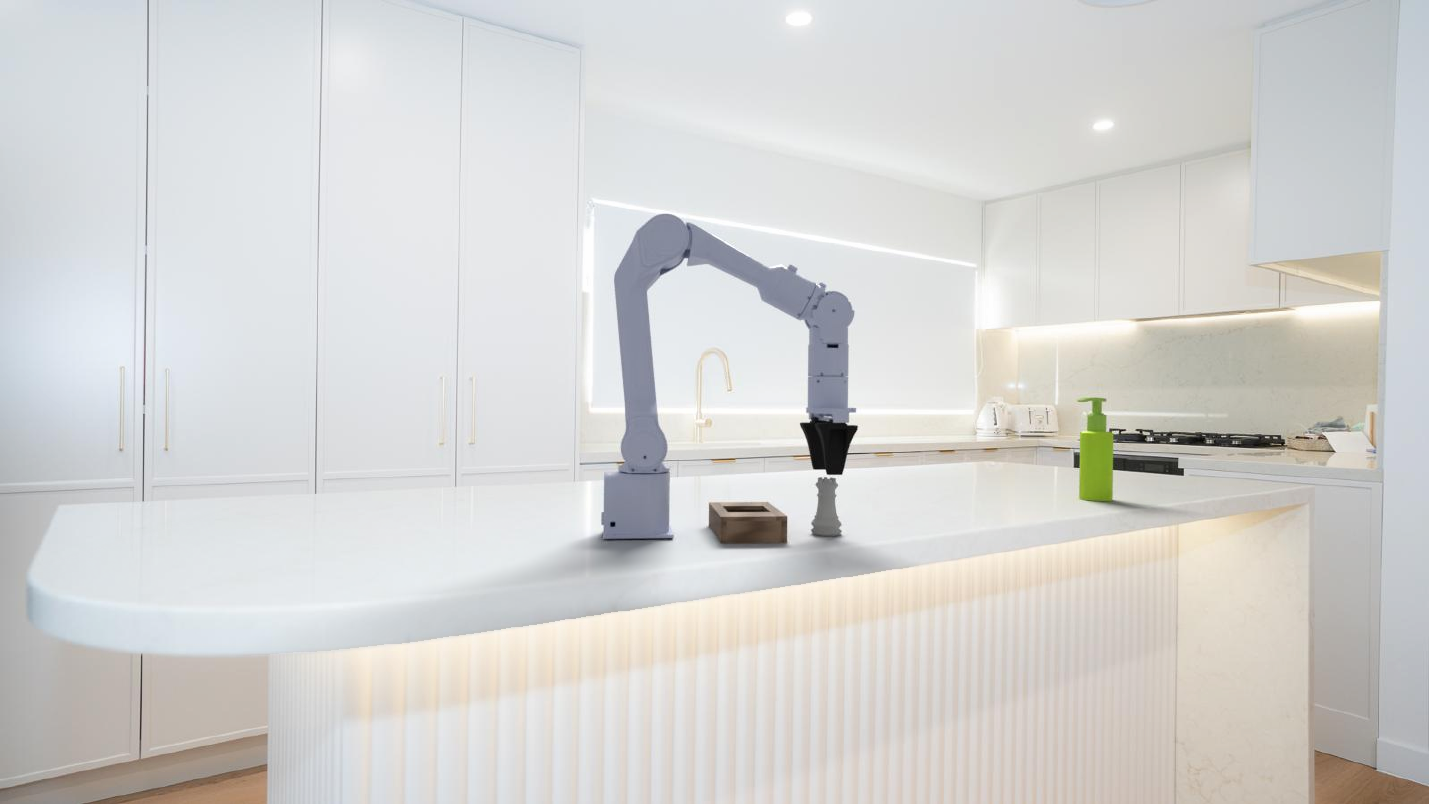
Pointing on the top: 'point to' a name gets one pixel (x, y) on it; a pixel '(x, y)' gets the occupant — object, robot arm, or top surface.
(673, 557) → the top surface
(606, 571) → the top surface
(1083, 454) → the soap dispenser
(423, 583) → the top surface
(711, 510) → the brown wooden hollow block
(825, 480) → the rook chess piece
